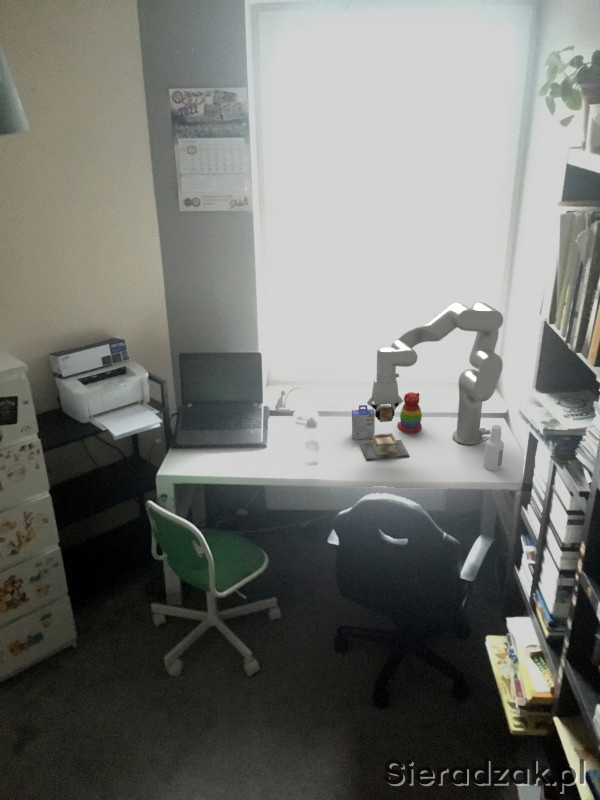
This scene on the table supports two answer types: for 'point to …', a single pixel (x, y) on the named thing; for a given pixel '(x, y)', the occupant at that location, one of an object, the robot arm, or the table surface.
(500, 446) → the spray bottle
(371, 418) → the ink cartridge box
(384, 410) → the walnut block
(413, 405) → the stacking bear
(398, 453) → the build base
